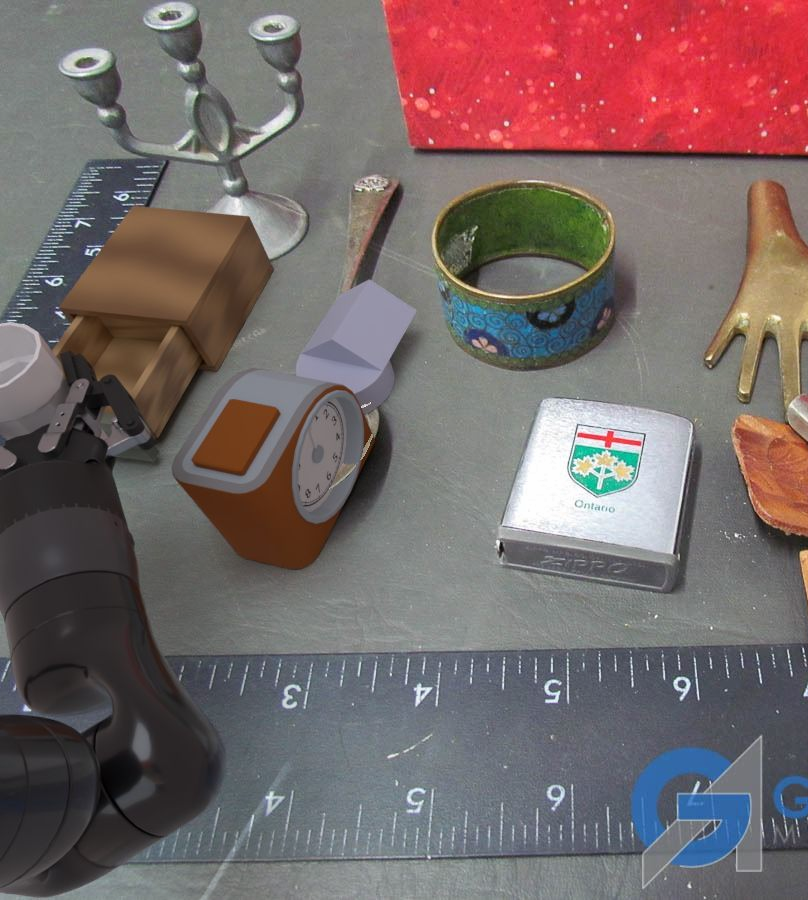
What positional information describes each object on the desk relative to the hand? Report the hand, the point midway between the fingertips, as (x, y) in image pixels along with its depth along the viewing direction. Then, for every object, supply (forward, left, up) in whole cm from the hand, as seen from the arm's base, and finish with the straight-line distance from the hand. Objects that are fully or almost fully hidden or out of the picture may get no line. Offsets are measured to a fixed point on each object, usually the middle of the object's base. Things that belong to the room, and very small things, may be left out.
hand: (23, 377), depth 60 cm
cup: (0, -2, -7) cm, 7 cm away
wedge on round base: (+23, +6, -20) cm, 31 cm away
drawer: (+1, +14, -19) cm, 23 cm away
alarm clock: (+13, -6, -20) cm, 24 cm away
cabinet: (+10, +24, -20) cm, 33 cm away
